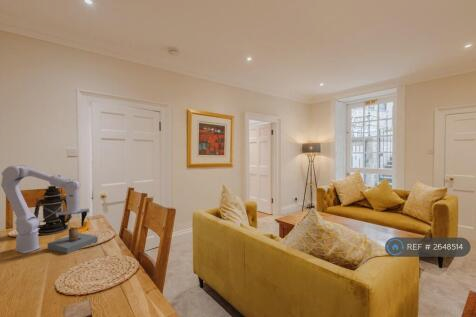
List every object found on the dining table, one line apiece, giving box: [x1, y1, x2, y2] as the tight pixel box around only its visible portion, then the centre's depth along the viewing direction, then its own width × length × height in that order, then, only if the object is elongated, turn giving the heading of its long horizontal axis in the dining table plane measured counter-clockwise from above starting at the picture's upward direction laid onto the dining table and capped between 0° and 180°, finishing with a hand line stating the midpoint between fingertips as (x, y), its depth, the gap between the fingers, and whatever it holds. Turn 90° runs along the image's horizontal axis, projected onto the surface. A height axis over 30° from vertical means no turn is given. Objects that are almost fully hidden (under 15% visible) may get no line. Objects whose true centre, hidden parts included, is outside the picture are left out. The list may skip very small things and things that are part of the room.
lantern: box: [33, 185, 73, 236], centre depth 145 cm, size 20×16×30 cm
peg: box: [68, 227, 79, 242], centre depth 122 cm, size 4×4×9 cm
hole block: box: [47, 233, 99, 255], centre depth 123 cm, size 16×16×3 cm
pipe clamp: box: [69, 220, 91, 234], centre depth 140 cm, size 12×4×6 cm, turn 174°
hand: (73, 227), depth 124 cm, fingers open, 7 cm apart
